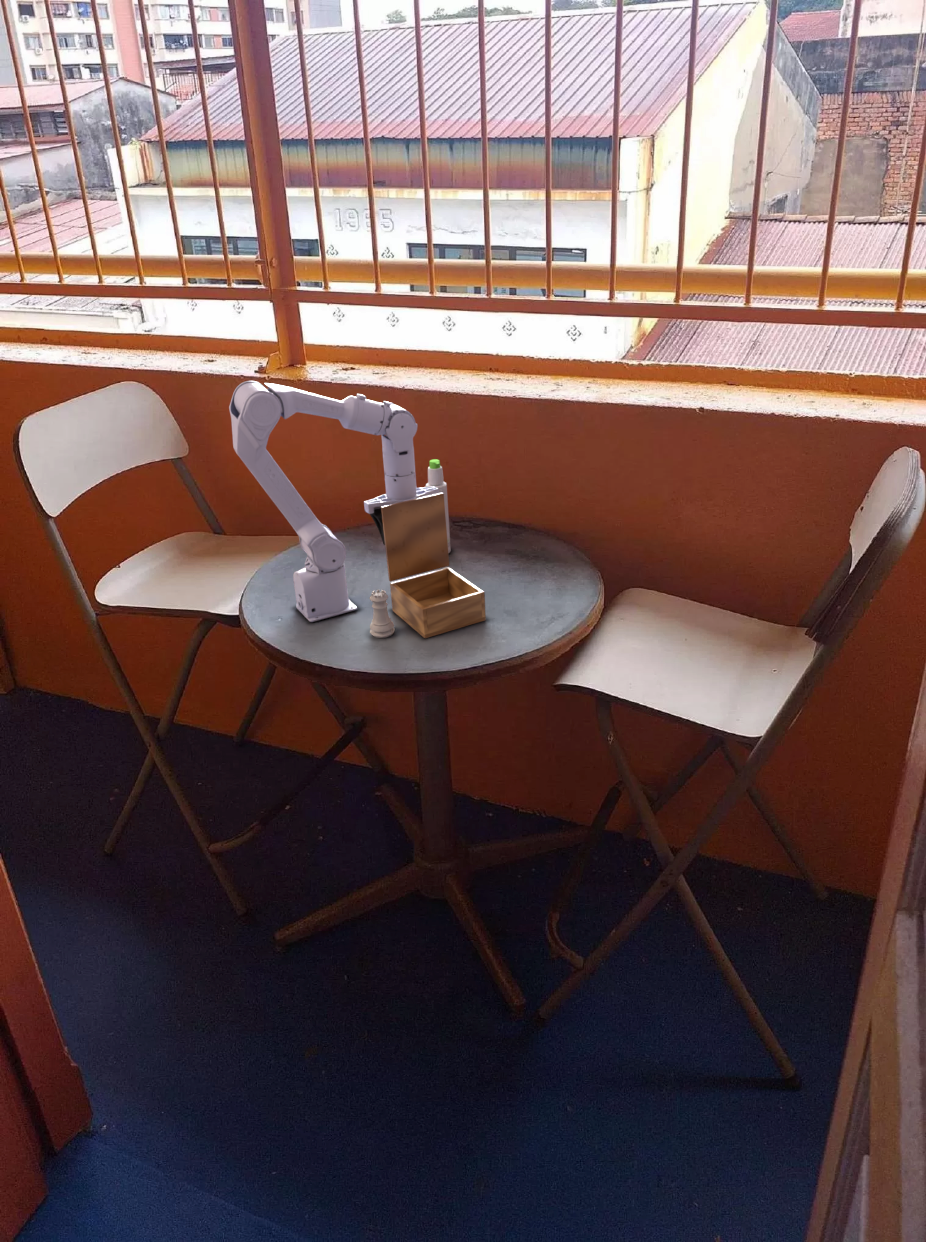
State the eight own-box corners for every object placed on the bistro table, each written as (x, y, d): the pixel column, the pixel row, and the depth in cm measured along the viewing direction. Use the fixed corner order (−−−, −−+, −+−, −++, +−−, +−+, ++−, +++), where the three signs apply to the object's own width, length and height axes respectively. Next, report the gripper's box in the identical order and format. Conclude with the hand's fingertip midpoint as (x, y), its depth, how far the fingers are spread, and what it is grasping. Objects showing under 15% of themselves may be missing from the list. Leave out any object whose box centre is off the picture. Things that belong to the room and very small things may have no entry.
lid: (443, 493, 168) (442, 492, 169) (382, 507, 163) (380, 506, 163) (449, 565, 174) (448, 564, 175) (390, 581, 169) (388, 580, 170)
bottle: (431, 556, 194) (425, 464, 185) (429, 548, 198) (422, 458, 189) (452, 554, 195) (446, 462, 185) (449, 546, 198) (443, 456, 189)
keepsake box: (485, 620, 167) (484, 591, 164) (424, 638, 162) (422, 609, 159) (450, 594, 177) (448, 567, 175) (392, 610, 172) (389, 582, 169)
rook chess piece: (400, 632, 164) (396, 591, 160) (380, 641, 161) (376, 600, 158) (384, 624, 167) (380, 584, 163) (365, 633, 164) (360, 593, 161)
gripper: (372, 485, 163) (379, 556, 169) (444, 469, 169) (448, 538, 175) (356, 475, 168) (363, 544, 175) (427, 460, 174) (431, 527, 181)
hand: (405, 540), depth 175 cm, fingers open, 7 cm apart
